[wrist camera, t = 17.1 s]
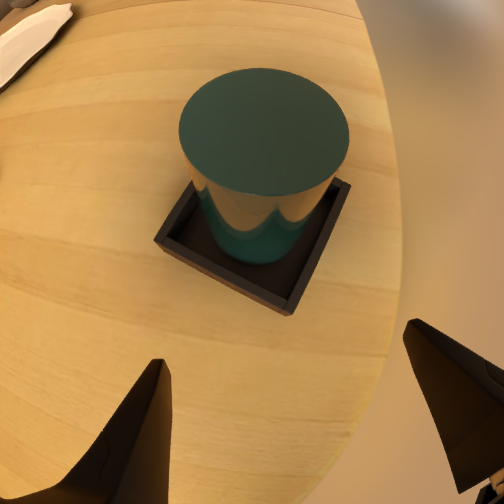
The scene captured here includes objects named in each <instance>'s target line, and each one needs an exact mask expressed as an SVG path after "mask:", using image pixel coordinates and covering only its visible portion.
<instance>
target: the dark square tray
mask: <svg viewBox="0 0 504 504" xmlns="http://www.w3.org/2000/svg"><path fill="white" fill-rule="evenodd" d="M350 188H351V185H350V184H348V183H346V182H343V181H342V180H340V179H338V178H336V177H334V179H333V181H332V182H331V184H330V186H329V188H328V190H327V191H326V193H325V195H324V197H323V198H322V200H321V202H320V204H319V205H318V207H317V209H316V211H315V212H314V214H313V216H312V218H311V219H310V221H309V223H308V225H307V226H306V228H305V230H304V231H303V233H302V235H301V237H300V238H299V240H298V242H297V243H296V245H295V247H294V248H293V249H292V251H291V252H290V253H289V254H288V255H287V256H286V257H284V258H283V259H281V260H280V261H278V262H276V263H273V264H270V265H266V266H260V267H251V266H245V265H242V264H238V263H236V262H234V261H232V260H230V259H229V258H227V257H226V256H225V255H224V254H222V252H221V251H220V250H219V249H218V248H217V246H216V245H215V243H214V241H213V239H212V236H211V234H210V231H209V228H208V225H207V222H206V219H205V216H204V213H203V210H202V207H201V204H200V202H199V199H198V196H197V193H196V190H195V187H194V184H193V181H192V180H191V182H190V183H189V185H188V186H187V188H186V189H185V191H184V192H183V194H182V195H181V197H180V198H179V200H178V201H177V203H176V204H175V206H174V208H173V209H172V211H171V212H170V214H169V215H168V217H167V219H166V220H165V222H164V223H163V225H162V227H161V228H160V230H159V231H158V233H157V235H156V236H155V238H154V242H155V243H156V244H157V245H158V246H159V247H160V248H161V249H162V250H163V251H164V252H166V253H168V254H170V255H171V256H173V257H175V258H177V259H179V260H180V261H182V262H184V263H186V264H188V265H189V266H191V267H193V268H195V269H197V270H198V271H200V272H202V273H204V274H206V275H208V276H209V277H211V278H213V279H215V280H217V281H219V282H220V283H222V284H224V285H226V286H228V287H230V288H232V289H234V290H235V291H237V292H239V293H241V294H243V295H245V296H247V297H249V298H251V299H253V300H254V301H256V302H258V303H260V304H262V305H264V306H266V307H268V308H270V309H272V310H274V311H276V312H278V313H280V314H282V315H284V316H289V315H292V314H293V313H294V311H295V309H296V307H297V305H298V303H299V301H300V299H301V297H302V295H303V293H304V291H305V289H306V287H307V285H308V282H309V280H310V278H311V276H312V274H313V272H314V270H315V268H316V266H317V263H318V261H319V259H320V257H321V255H322V253H323V250H324V248H325V246H326V244H327V241H328V239H329V237H330V235H331V232H332V230H333V228H334V226H335V223H336V221H337V219H338V216H339V214H340V212H341V209H342V207H343V205H344V202H345V200H346V198H347V195H348V193H349V190H350Z"/></svg>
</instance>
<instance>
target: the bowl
mask: <svg viewBox="0 0 504 504" xmlns="http://www.w3.org/2000/svg"><path fill="white" fill-rule="evenodd" d="M36 1H37V0H8V2H9V4H10V6H11V7H13V8H24V7H27V6H30V5H31V4H33V3H34V2H36Z"/></svg>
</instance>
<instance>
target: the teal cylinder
mask: <svg viewBox="0 0 504 504" xmlns="http://www.w3.org/2000/svg"><path fill="white" fill-rule="evenodd" d="M179 139H180V143H181V147H182V150H183V153H184V156H185V159H186V162H187V165H188V168H189V171H190V174H191V177H192V181H193V184H194V187H195V190H196V193H197V196H198V199H199V202H200V204H201V207H202V210H203V213H204V216H205V219H206V222H207V225H208V228H209V231H210V234H211V236H212V239H213V241H214V243H215V245H216V246H217V248H218V249H219V250H220V251H221V252H222V254H224V255H225V256H226V257H227V258H229V259H230V260H232V261H234V262H236V263H238V264H242V265H245V266H251V267H260V266H266V265H270V264H273V263H276V262H278V261H280V260H281V259H283V258H284V257H286V256H287V255H288V254H289V253H290V252H291V251H292V249H293V248H294V247H295V245H296V243H297V242H298V240H299V238H300V237H301V235H302V233H303V231H304V230H305V228H306V226H307V225H308V223H309V221H310V219H311V218H312V216H313V214H314V212H315V211H316V209H317V207H318V205H319V204H320V202H321V200H322V198H323V197H324V195H325V193H326V191H327V190H328V188H329V186H330V184H331V182H332V181H333V179H334V177H335V175H336V173H337V172H338V170H339V168H340V166H341V164H342V163H343V161H344V159H345V157H346V154H347V151H348V147H349V129H348V124H347V121H346V118H345V116H344V114H343V112H342V110H341V108H340V107H339V105H338V104H337V102H336V101H335V100H334V99H333V98H332V97H331V96H330V95H329V94H328V93H327V92H326V91H325V90H324V89H322V88H321V87H320V86H318V85H317V84H315V83H313V82H312V81H310V80H308V79H306V78H304V77H301V76H299V75H296V74H293V73H290V72H286V71H282V70H277V69H268V68H251V69H243V70H238V71H233V72H230V73H227V74H224V75H221V76H219V77H217V78H215V79H213V80H211V81H209V82H208V83H206V84H205V85H204V86H202V87H201V88H200V89H199V90H197V91H196V92H195V93H194V94H193V96H192V97H191V98H190V99H189V100H188V102H187V104H186V105H185V107H184V109H183V112H182V114H181V117H180V122H179Z"/></svg>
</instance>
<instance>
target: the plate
mask: <svg viewBox="0 0 504 504" xmlns="http://www.w3.org/2000/svg"><path fill="white" fill-rule="evenodd" d="M72 5H73V4H72V3H67V4H63V5H52V6H49V7H47V8H45V9H43V10H41V11H40V12H38V13H35V14H33V15H31V16H28V17H27V18H25V19H23V20H22V21H21V22H19V23H18V24H17V25H15V26H14V27H13V28H11V29H10V30H8V31H7V32H6V33H4V34H3V35H2V36H0V93H1V92H2V91H3V90H4V89H6V88H7V87H8V86H9V85H10V84H11V83H12V82H13V81H15V80H16V79H17V78H18V77H19V76H20V75H21V74H22V73H23V72H24V71H25V70H26V69H27V68H28V67H29V66H30V65H31V64H32V63H33V62H34V61H35V60H36V59H37V58H38V57H39V56H40V55H41V54H42V53H43V52H44V51H45V49H46V48H47V47H48V46H49V45H50V44H51V43H52V41H53V40H54V38H55V37H56V36H57V34H58V33H59V32H60V30H61V29H62V28H63V27H64V25H65V24H66V23H67V22H68V21H69V20H70V18H71V17H72V15H73V13H72V11H71V7H72Z"/></svg>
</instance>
